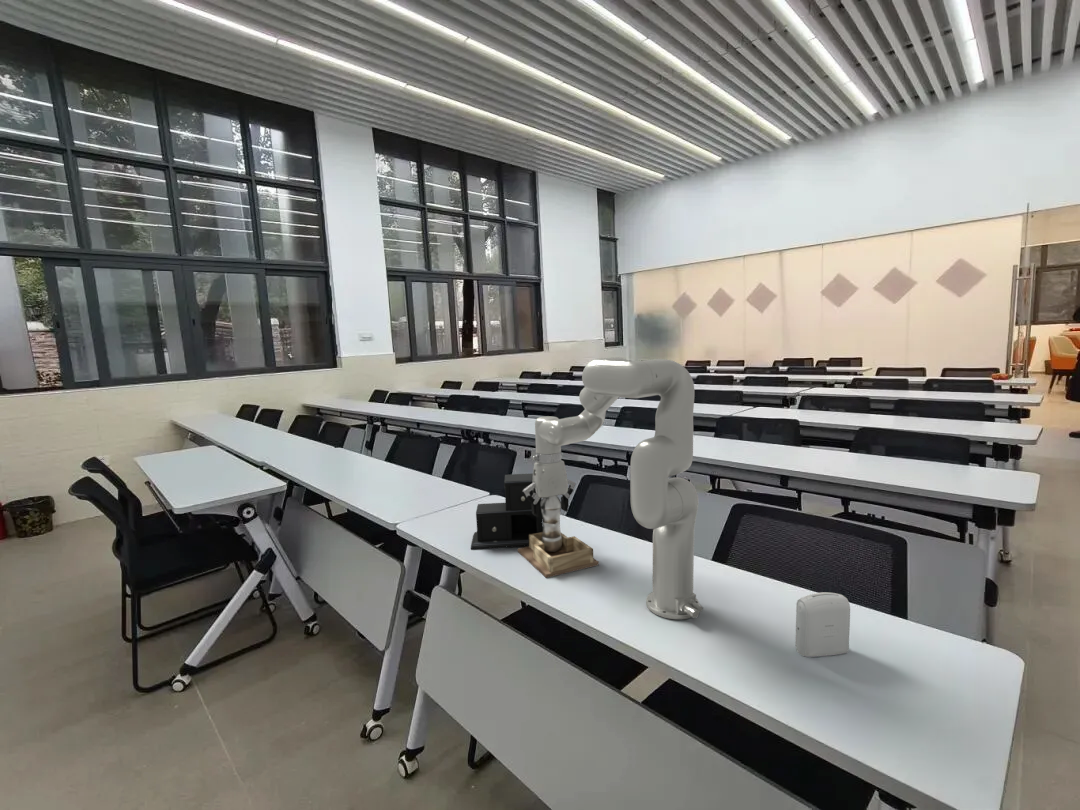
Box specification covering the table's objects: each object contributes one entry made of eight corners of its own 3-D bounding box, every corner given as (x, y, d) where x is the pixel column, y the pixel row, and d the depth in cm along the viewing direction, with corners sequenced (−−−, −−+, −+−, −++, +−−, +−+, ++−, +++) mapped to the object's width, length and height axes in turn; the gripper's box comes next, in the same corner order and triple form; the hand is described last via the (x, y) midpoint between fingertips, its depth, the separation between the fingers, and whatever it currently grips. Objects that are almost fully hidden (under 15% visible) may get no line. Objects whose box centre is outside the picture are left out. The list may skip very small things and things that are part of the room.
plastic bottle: (561, 545, 158) (560, 483, 156) (563, 554, 151) (561, 489, 149) (541, 546, 158) (539, 484, 155) (541, 555, 151) (540, 490, 149)
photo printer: (804, 659, 101) (806, 601, 99) (791, 647, 105) (793, 590, 103) (852, 655, 102) (855, 597, 100) (837, 642, 106) (840, 587, 104)
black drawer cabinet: (470, 550, 159) (467, 477, 156) (473, 537, 170) (470, 469, 167) (544, 546, 160) (542, 474, 157) (542, 534, 171) (540, 466, 168)
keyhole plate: (598, 564, 146) (598, 548, 145) (546, 577, 139) (545, 560, 138) (565, 541, 164) (565, 526, 163) (517, 551, 156) (517, 536, 156)
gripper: (527, 463, 144) (529, 521, 146) (579, 456, 151) (581, 511, 153) (517, 459, 151) (519, 514, 153) (568, 452, 158) (569, 505, 160)
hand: (550, 513), depth 153 cm, fingers open, 9 cm apart
